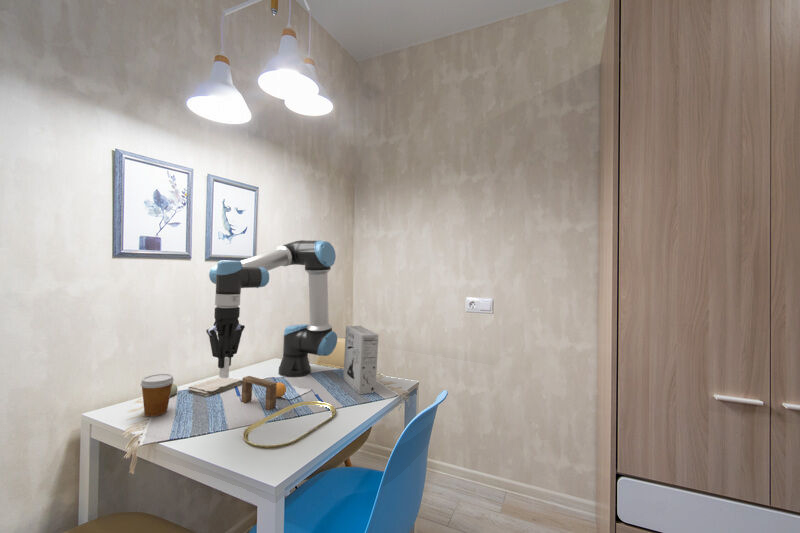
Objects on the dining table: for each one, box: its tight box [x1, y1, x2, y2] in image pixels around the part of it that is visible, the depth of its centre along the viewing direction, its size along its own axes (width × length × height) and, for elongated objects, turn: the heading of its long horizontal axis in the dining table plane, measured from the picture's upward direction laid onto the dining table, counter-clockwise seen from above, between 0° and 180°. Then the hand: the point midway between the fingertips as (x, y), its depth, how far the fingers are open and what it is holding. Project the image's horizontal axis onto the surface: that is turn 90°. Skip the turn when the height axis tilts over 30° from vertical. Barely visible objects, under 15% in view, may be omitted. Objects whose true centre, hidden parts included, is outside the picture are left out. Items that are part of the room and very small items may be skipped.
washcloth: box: [187, 377, 242, 398], centre depth 144 cm, size 12×18×3 cm, turn 158°
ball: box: [276, 382, 286, 398], centre depth 138 cm, size 6×6×6 cm
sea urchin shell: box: [170, 382, 178, 397], centre depth 134 cm, size 9×8×8 cm
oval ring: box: [242, 400, 337, 449], centre depth 116 cm, size 19×35×2 cm, turn 156°
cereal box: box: [342, 325, 379, 395], centre depth 155 cm, size 22×8×25 cm, turn 27°
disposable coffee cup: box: [140, 373, 175, 417], centre depth 119 cm, size 10×10×12 cm
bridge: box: [240, 375, 278, 411], centre depth 129 cm, size 3×14×9 cm, turn 64°
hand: (223, 376), depth 116 cm, fingers closed
